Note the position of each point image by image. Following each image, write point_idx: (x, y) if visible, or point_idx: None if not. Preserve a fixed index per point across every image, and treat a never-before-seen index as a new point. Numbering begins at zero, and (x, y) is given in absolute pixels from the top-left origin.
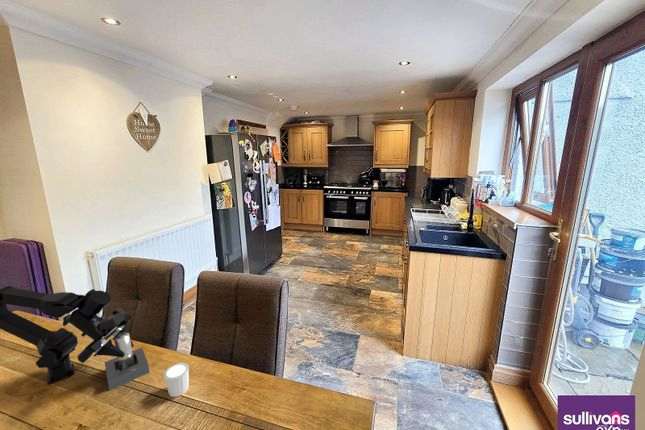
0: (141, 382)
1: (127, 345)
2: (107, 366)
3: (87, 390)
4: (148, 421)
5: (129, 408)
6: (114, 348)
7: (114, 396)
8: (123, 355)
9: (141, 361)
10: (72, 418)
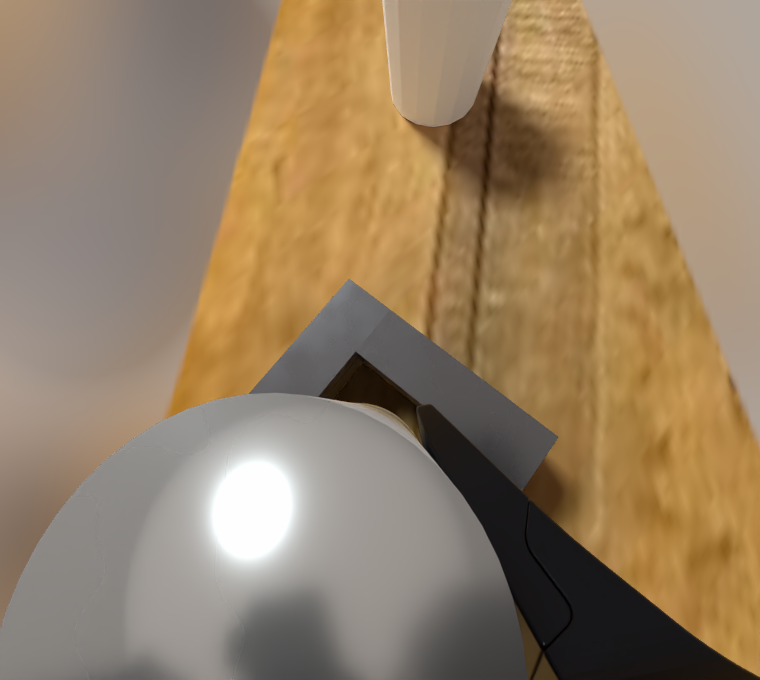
0: (431, 292)
1: (353, 403)
2: None
3: None
4: (607, 101)
5: (582, 223)
6: (538, 541)
7: (547, 361)
8: (435, 409)
9: (334, 345)
10: (730, 467)
